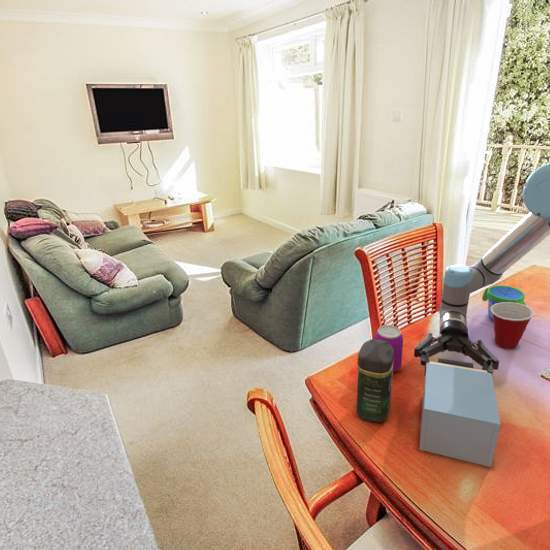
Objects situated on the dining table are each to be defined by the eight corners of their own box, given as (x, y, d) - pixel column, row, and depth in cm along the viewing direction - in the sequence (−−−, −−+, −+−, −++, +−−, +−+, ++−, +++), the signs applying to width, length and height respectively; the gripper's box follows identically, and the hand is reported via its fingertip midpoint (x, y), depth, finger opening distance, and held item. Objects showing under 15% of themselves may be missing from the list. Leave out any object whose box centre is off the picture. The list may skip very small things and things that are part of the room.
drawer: (426, 378, 101) (429, 347, 97) (478, 387, 96) (484, 355, 92) (423, 435, 84) (427, 401, 80) (486, 450, 79) (494, 415, 75)
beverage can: (406, 364, 108) (409, 329, 103) (392, 378, 103) (395, 342, 98) (382, 354, 113) (383, 320, 108) (368, 367, 108) (369, 332, 103)
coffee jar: (386, 427, 88) (390, 363, 80) (353, 418, 91) (354, 356, 84) (393, 400, 96) (397, 339, 88) (362, 392, 99) (363, 333, 92)
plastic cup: (484, 331, 120) (490, 298, 115) (523, 337, 116) (531, 303, 111) (484, 350, 112) (491, 315, 107) (527, 357, 107) (536, 321, 102)
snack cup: (533, 328, 120) (540, 300, 115) (503, 333, 118) (509, 305, 114) (498, 305, 134) (503, 280, 130) (471, 310, 132) (475, 284, 128)
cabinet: (422, 400, 95) (426, 362, 90) (483, 412, 90) (491, 373, 85) (419, 449, 82) (424, 408, 77) (491, 467, 77) (500, 424, 72)
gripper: (500, 348, 106) (512, 399, 88) (407, 335, 115) (401, 379, 97) (504, 325, 103) (518, 374, 85) (409, 314, 112) (403, 355, 94)
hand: (455, 377), depth 91 cm, fingers closed on drawer, 13 cm apart
